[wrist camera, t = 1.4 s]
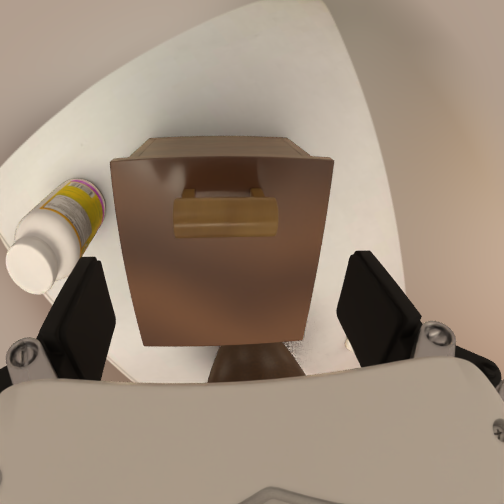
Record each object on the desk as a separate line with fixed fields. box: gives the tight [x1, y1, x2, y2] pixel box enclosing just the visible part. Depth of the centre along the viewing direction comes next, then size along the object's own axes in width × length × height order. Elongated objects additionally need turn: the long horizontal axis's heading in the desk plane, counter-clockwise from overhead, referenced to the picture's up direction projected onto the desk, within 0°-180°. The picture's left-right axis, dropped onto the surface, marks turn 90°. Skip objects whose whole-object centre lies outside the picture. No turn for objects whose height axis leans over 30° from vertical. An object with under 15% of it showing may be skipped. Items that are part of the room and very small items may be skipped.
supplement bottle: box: [6, 179, 105, 294], centre depth 24 cm, size 7×7×13 cm
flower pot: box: [207, 342, 306, 383], centre depth 36 cm, size 15×15×16 cm
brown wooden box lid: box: [110, 154, 334, 346], centre depth 19 cm, size 15×14×5 cm
